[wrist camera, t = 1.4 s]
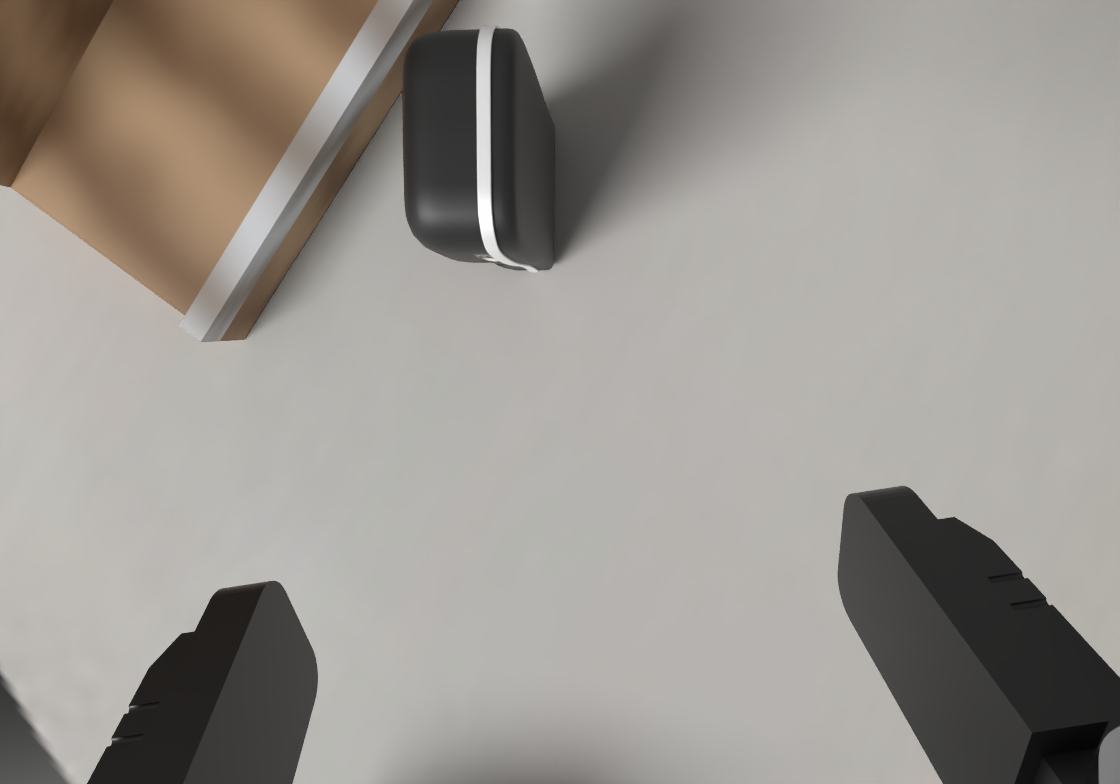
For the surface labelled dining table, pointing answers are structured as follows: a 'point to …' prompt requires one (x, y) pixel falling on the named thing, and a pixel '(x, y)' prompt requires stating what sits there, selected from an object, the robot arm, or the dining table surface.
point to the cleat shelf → (198, 131)
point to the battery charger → (478, 149)
